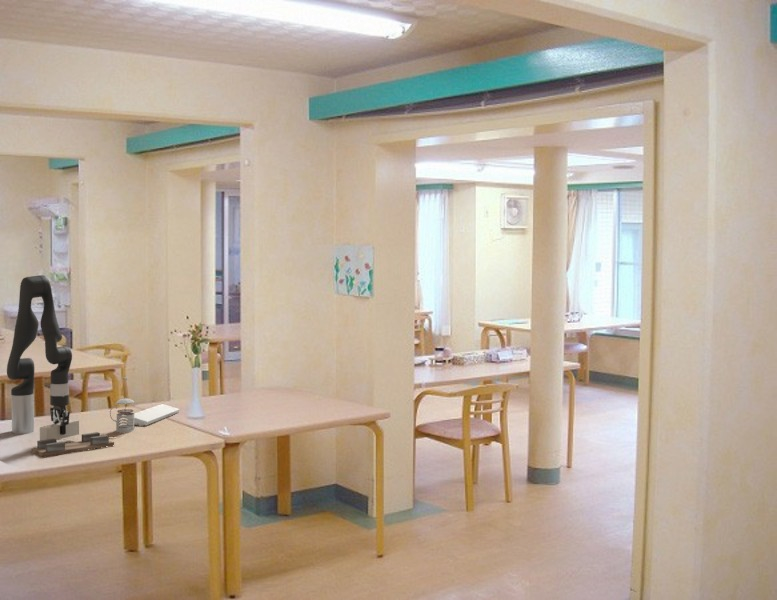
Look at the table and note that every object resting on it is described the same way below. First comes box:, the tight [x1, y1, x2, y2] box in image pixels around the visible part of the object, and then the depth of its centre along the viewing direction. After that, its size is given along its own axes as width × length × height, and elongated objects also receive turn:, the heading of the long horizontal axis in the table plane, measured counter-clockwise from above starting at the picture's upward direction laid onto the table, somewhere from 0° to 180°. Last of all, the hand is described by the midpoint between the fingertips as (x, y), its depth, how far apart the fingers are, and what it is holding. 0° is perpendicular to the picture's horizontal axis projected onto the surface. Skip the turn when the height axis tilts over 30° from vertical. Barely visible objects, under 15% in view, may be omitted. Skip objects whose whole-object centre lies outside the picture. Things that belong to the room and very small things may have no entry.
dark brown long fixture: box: [31, 431, 115, 458], centre depth 369 cm, size 12×30×4 cm, turn 135°
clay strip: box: [39, 419, 80, 441], centre depth 379 cm, size 4×18×6 cm, turn 155°
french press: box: [109, 376, 136, 434], centre depth 404 cm, size 10×12×25 cm
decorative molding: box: [127, 403, 180, 427], centre depth 432 cm, size 34×5×10 cm
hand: (59, 433), depth 379 cm, fingers closed on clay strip, 5 cm apart
